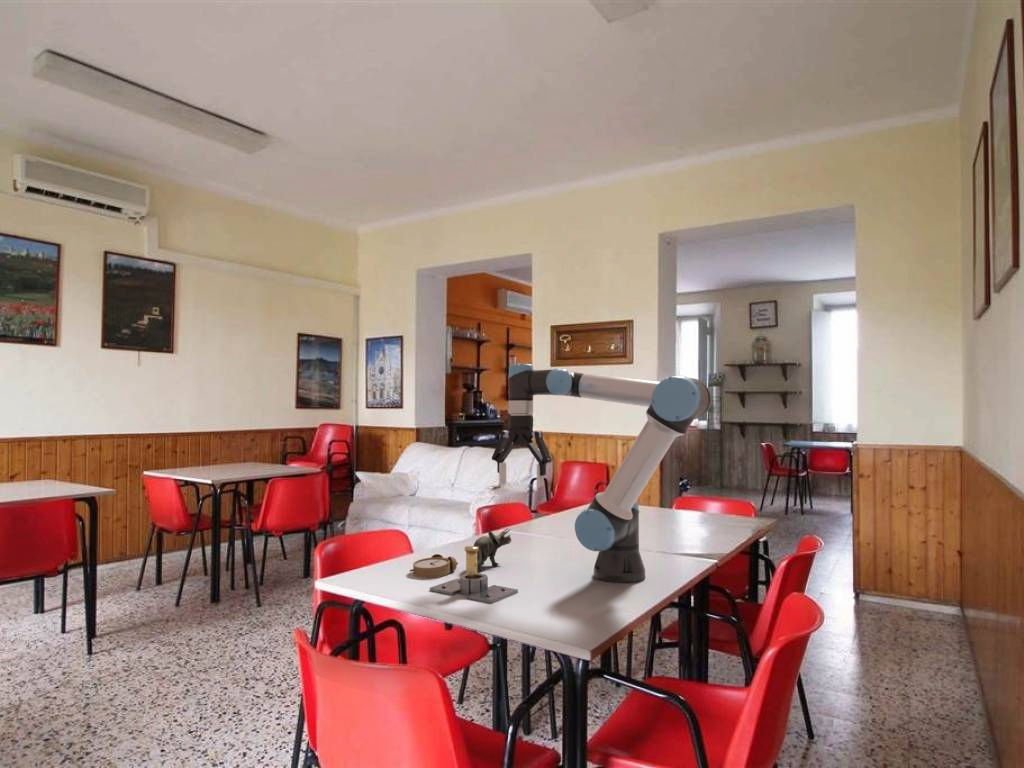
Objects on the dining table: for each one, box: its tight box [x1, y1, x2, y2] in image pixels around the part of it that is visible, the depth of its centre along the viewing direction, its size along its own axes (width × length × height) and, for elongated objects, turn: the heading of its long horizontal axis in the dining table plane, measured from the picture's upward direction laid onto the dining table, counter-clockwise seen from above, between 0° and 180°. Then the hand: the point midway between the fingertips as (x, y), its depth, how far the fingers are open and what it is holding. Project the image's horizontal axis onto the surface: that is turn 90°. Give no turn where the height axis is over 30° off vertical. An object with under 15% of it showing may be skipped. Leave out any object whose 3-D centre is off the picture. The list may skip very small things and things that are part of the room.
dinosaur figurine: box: [473, 527, 512, 573], centre depth 199 cm, size 22×8×11 cm, turn 148°
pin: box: [464, 545, 479, 579], centre depth 173 cm, size 4×4×12 cm
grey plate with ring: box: [429, 572, 519, 604], centre depth 172 cm, size 12×21×4 cm, turn 55°
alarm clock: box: [409, 553, 459, 579], centre depth 194 cm, size 11×5×15 cm
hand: (521, 485), depth 191 cm, fingers open, 13 cm apart
